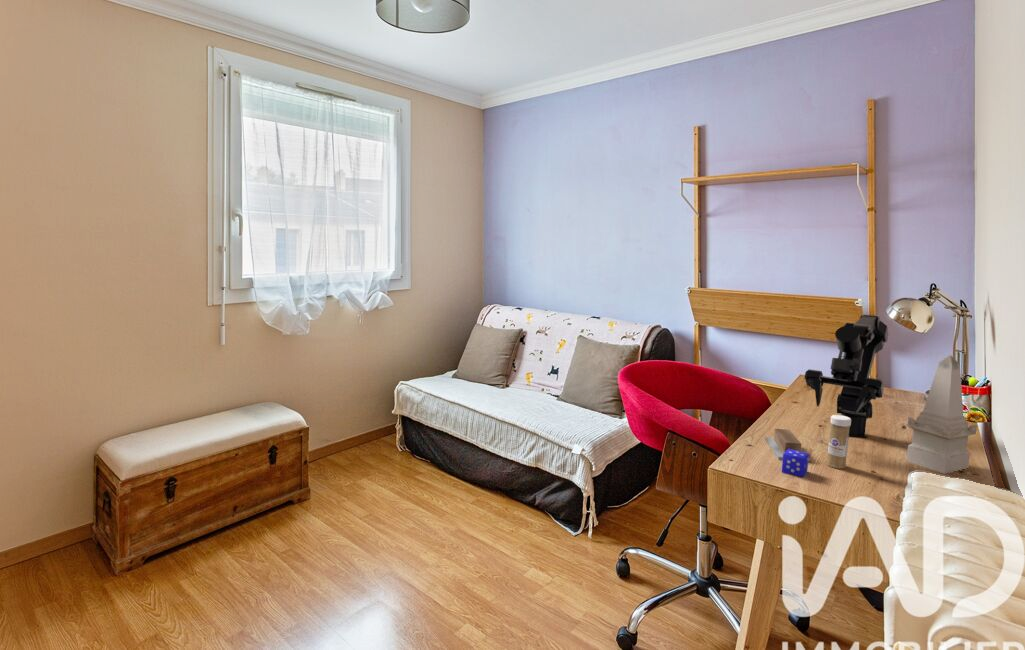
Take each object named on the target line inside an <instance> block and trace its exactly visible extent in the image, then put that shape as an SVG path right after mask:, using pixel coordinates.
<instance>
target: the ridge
mask: <svg viewBox="0 0 1025 650" xmlns="http://www.w3.org/2000/svg"><path fill="white" fill-rule="evenodd" d="M764 440H766V441H765V442H766V443H768V444H767V445H768V446H770V447H769V448H770V449H772V450H771V451H772V452H773V455H774V456H775V457H776V458H777V460H779V459H780V460H781V461H783V454H784V453H785V452H786V451H787V449H791V450H796V451H800V452H805V451H804V450H803V448H802V443H801V441H800V440H799V439H798V438H797V437H796V436H795V434H794V433H793V432H792V431H791V430H790V429H786V428H785V429H783V428H774V434H773V437H769V436H768V437H764ZM780 460H779V461H780ZM811 462H812V461H811V458H810V457H809V458H808V463H811Z"/></svg>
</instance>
